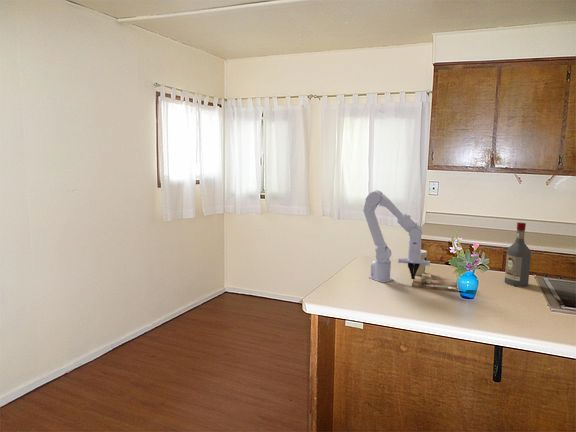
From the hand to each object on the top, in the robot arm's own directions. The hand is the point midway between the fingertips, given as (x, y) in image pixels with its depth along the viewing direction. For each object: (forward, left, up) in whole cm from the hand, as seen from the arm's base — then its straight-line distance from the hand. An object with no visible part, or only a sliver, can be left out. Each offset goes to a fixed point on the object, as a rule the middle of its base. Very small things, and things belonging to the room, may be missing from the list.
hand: (413, 278), depth 211 cm
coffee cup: (-12, +16, -2) cm, 20 cm away
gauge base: (+10, +7, -2) cm, 12 cm away
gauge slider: (+6, +2, -1) cm, 6 cm away
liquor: (+26, +43, -2) cm, 51 cm away
